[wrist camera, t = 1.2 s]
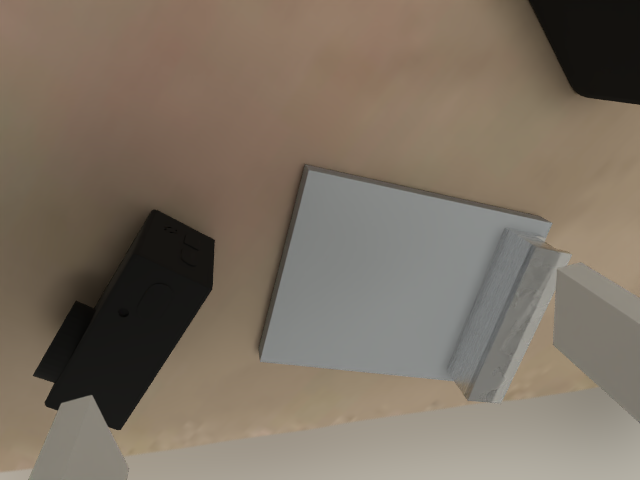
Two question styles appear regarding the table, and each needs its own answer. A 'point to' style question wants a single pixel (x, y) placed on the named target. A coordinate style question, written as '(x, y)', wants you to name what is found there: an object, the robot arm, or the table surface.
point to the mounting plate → (380, 275)
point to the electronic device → (596, 45)
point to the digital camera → (131, 321)
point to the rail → (505, 315)
